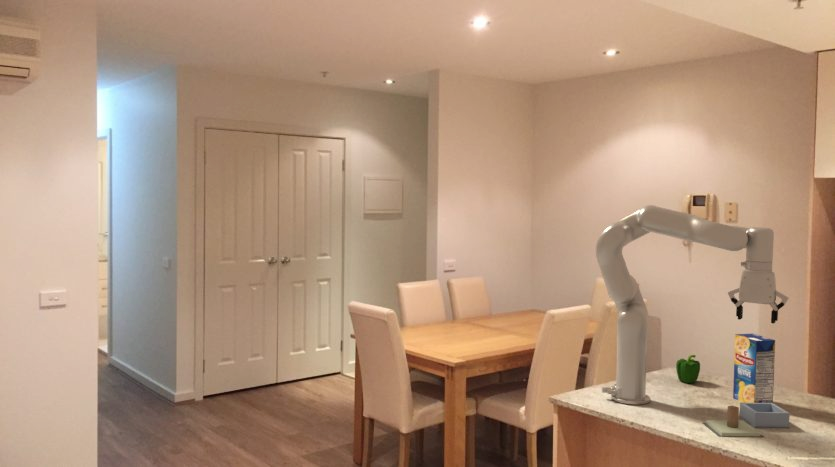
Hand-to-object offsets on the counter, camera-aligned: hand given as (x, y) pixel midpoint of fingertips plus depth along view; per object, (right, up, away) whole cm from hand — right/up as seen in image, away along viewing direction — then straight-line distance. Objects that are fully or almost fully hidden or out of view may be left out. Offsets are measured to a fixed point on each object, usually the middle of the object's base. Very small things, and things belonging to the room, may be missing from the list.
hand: (756, 320), depth 220 cm
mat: (-15, -30, -16) cm, 37 cm away
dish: (-2, -30, -9) cm, 31 cm away
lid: (-15, -30, -16) cm, 37 cm away
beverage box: (+5, -29, +13) cm, 32 cm away
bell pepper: (-7, -27, +38) cm, 47 cm away
